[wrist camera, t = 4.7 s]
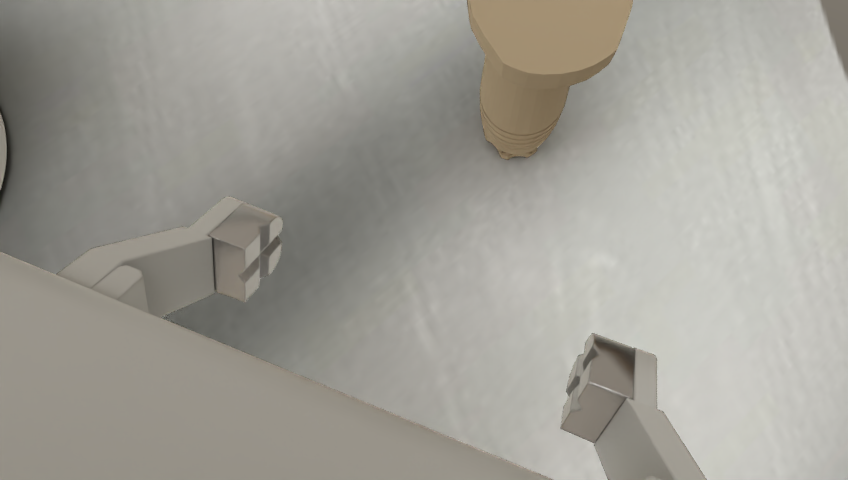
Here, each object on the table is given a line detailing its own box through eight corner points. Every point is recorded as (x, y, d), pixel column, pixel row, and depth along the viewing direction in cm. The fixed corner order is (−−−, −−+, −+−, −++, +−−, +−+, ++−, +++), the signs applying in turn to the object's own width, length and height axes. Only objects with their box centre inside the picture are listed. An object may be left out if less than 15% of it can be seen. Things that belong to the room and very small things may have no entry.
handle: (551, 73, 32) (616, -138, 17) (565, 185, 31) (647, 63, 16) (464, 84, 32) (456, -115, 18) (476, 195, 32) (478, 84, 17)
